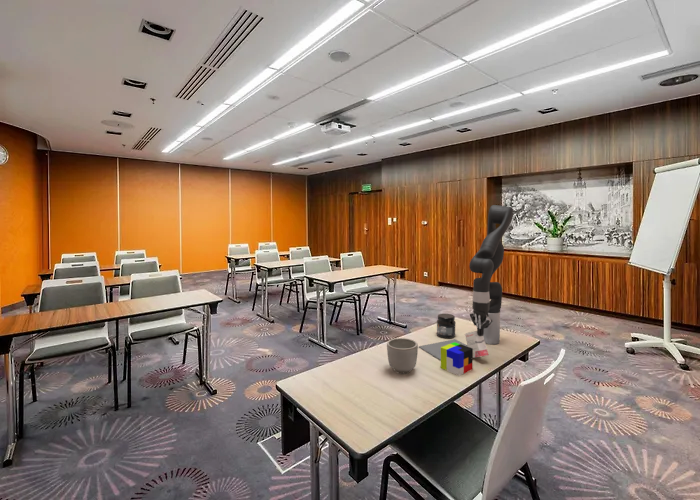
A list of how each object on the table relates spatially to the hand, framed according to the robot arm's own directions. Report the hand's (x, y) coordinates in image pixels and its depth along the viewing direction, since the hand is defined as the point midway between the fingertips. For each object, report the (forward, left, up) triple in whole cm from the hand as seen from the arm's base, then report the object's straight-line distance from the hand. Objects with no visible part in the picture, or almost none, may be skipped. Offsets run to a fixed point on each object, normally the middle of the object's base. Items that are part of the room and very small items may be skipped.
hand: (480, 335), depth 164 cm
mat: (-16, -5, -13) cm, 21 cm away
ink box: (0, 0, -11) cm, 11 cm away
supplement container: (-35, +7, -13) cm, 38 cm away
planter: (-7, -39, -13) cm, 42 cm away
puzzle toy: (+2, -16, -13) cm, 20 cm away
